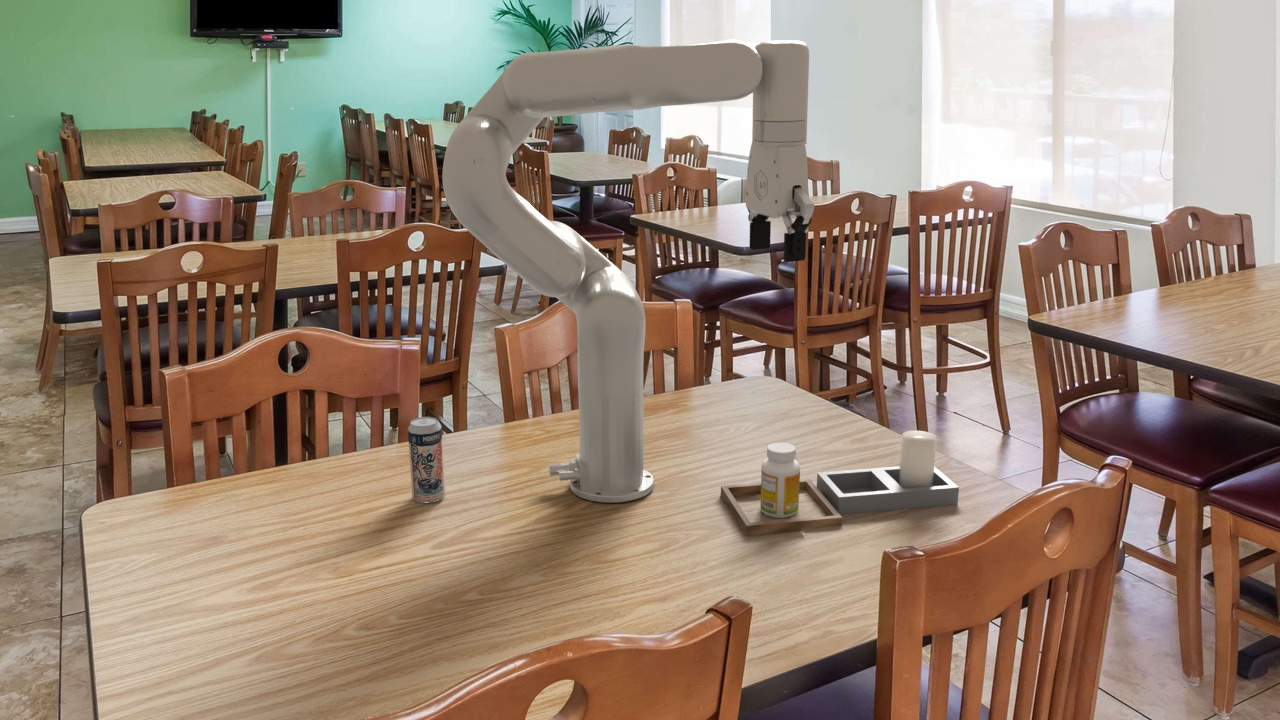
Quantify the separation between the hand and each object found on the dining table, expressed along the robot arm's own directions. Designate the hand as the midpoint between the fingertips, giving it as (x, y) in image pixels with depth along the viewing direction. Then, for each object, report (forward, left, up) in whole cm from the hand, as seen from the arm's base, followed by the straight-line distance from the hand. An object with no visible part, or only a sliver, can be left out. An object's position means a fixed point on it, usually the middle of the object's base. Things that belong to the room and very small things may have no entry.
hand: (776, 254), depth 155 cm
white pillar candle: (+19, -10, -34) cm, 41 cm away
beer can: (-51, +3, -35) cm, 62 cm away
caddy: (+14, -10, -35) cm, 39 cm away
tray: (-2, -11, -35) cm, 37 cm away
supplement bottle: (-2, -11, -35) cm, 37 cm away
